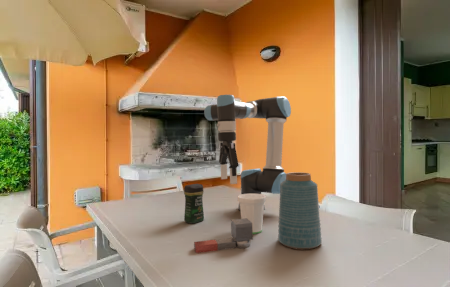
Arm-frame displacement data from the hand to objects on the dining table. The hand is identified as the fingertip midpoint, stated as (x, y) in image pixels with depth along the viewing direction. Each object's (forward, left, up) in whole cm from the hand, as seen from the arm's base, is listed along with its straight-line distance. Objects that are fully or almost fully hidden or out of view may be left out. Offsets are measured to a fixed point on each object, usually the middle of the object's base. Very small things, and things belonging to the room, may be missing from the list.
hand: (228, 181), depth 116 cm
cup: (-11, -1, -23) cm, 25 cm away
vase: (-23, +18, -23) cm, 37 cm away
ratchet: (+6, +14, -23) cm, 27 cm away
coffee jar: (+12, -23, -23) cm, 35 cm away
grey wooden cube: (-1, +14, -20) cm, 24 cm away
